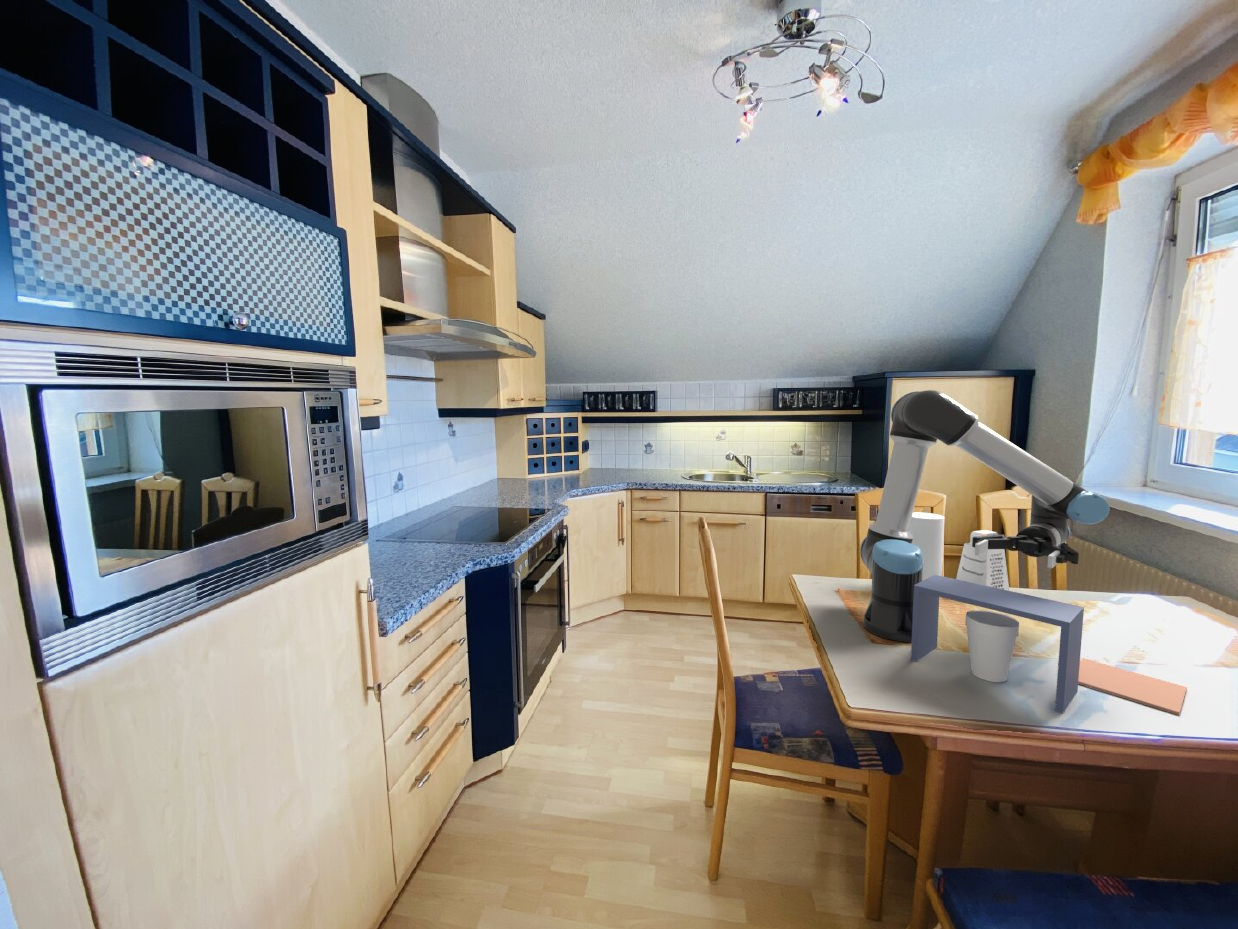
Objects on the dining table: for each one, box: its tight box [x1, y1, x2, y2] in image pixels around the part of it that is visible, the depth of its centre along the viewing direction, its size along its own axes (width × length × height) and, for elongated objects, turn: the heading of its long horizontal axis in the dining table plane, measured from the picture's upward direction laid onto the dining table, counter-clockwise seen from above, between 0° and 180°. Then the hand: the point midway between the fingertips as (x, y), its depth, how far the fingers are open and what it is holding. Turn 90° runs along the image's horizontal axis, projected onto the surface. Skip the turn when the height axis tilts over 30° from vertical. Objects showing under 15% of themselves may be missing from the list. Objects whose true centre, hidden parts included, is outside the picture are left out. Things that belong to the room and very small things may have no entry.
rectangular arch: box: [910, 575, 1085, 714], centre depth 109 cm, size 27×12×18 cm, turn 37°
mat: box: [1078, 657, 1188, 716], centre depth 105 cm, size 16×14×1 cm
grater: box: [955, 529, 1010, 591], centre depth 159 cm, size 10×10×20 cm
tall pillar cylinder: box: [909, 511, 945, 581], centre depth 162 cm, size 11×11×25 cm
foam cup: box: [964, 609, 1020, 683], centre depth 110 cm, size 10×9×13 cm
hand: (1011, 555), depth 114 cm, fingers open, 13 cm apart
